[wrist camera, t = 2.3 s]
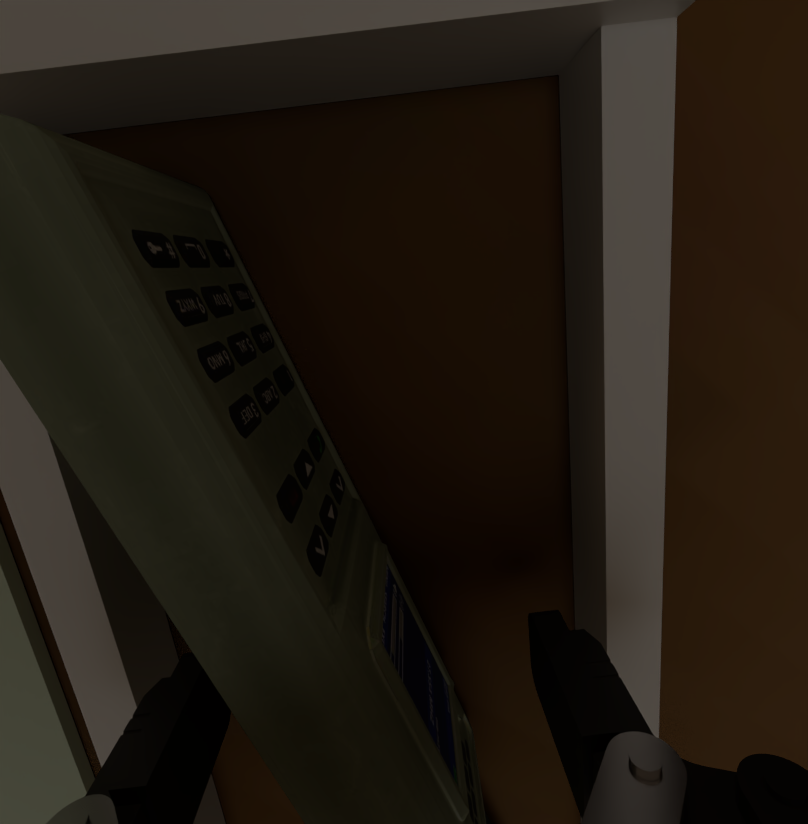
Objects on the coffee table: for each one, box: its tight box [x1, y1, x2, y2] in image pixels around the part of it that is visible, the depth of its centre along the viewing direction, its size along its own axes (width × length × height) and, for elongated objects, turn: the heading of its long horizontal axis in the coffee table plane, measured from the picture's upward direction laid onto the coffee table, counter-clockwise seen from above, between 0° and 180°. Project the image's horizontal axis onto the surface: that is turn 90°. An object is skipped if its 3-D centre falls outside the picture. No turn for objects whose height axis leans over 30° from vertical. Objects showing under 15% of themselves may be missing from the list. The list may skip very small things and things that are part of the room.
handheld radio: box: [0, 114, 491, 824], centre depth 13 cm, size 7×3×25 cm
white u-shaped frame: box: [0, 0, 696, 824], centre depth 14 cm, size 16×28×4 cm, turn 7°
